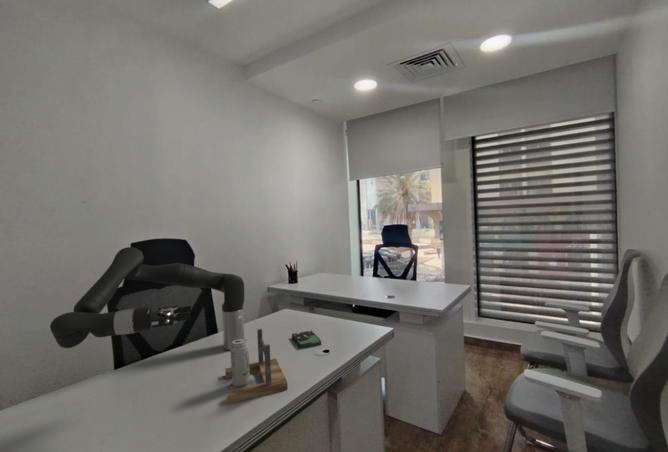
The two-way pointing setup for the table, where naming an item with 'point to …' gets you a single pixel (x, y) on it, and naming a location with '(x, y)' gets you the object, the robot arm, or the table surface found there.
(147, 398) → the table surface
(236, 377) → the energy drink can
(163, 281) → the robot arm
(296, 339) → the disk drive
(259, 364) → the wooden crossbar stand
